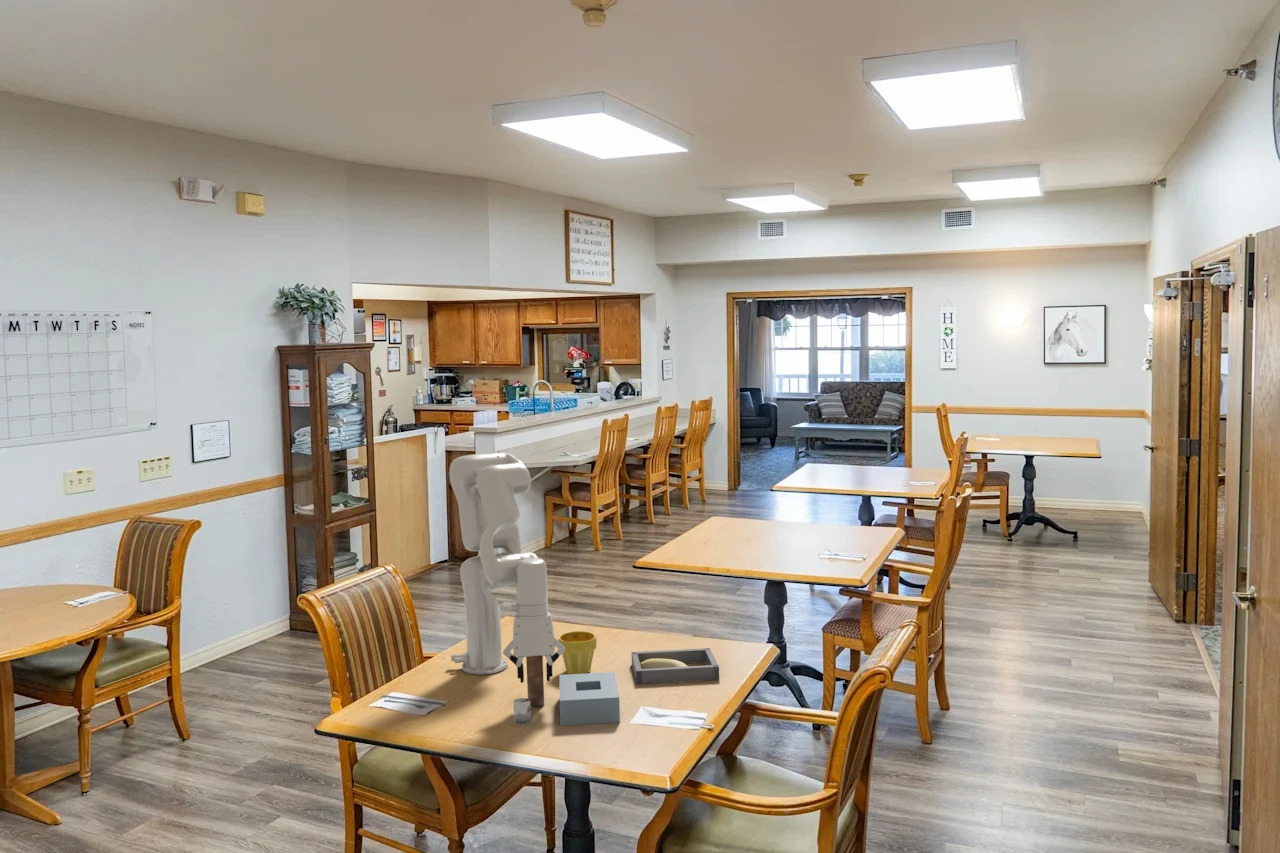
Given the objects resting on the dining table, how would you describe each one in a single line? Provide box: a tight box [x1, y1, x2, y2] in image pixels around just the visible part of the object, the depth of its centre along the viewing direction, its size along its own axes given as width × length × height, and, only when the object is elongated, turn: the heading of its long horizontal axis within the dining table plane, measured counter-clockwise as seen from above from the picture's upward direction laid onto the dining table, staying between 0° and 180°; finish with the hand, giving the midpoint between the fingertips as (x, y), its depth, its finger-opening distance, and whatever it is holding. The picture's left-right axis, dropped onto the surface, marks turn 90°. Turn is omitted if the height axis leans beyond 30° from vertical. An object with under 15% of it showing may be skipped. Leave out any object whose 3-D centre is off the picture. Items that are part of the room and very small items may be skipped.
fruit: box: [640, 659, 688, 669], centre depth 258 cm, size 7×15×3 cm, turn 51°
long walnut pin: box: [525, 656, 545, 709], centre depth 236 cm, size 4×4×15 cm
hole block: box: [559, 671, 621, 726], centre depth 232 cm, size 14×18×6 cm
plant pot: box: [557, 630, 597, 674], centre depth 261 cm, size 10×10×10 cm
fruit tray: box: [631, 647, 720, 685], centre depth 258 cm, size 22×16×4 cm
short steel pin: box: [512, 697, 532, 726], centre depth 226 cm, size 4×4×5 cm
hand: (535, 679), depth 236 cm, fingers open, 5 cm apart
